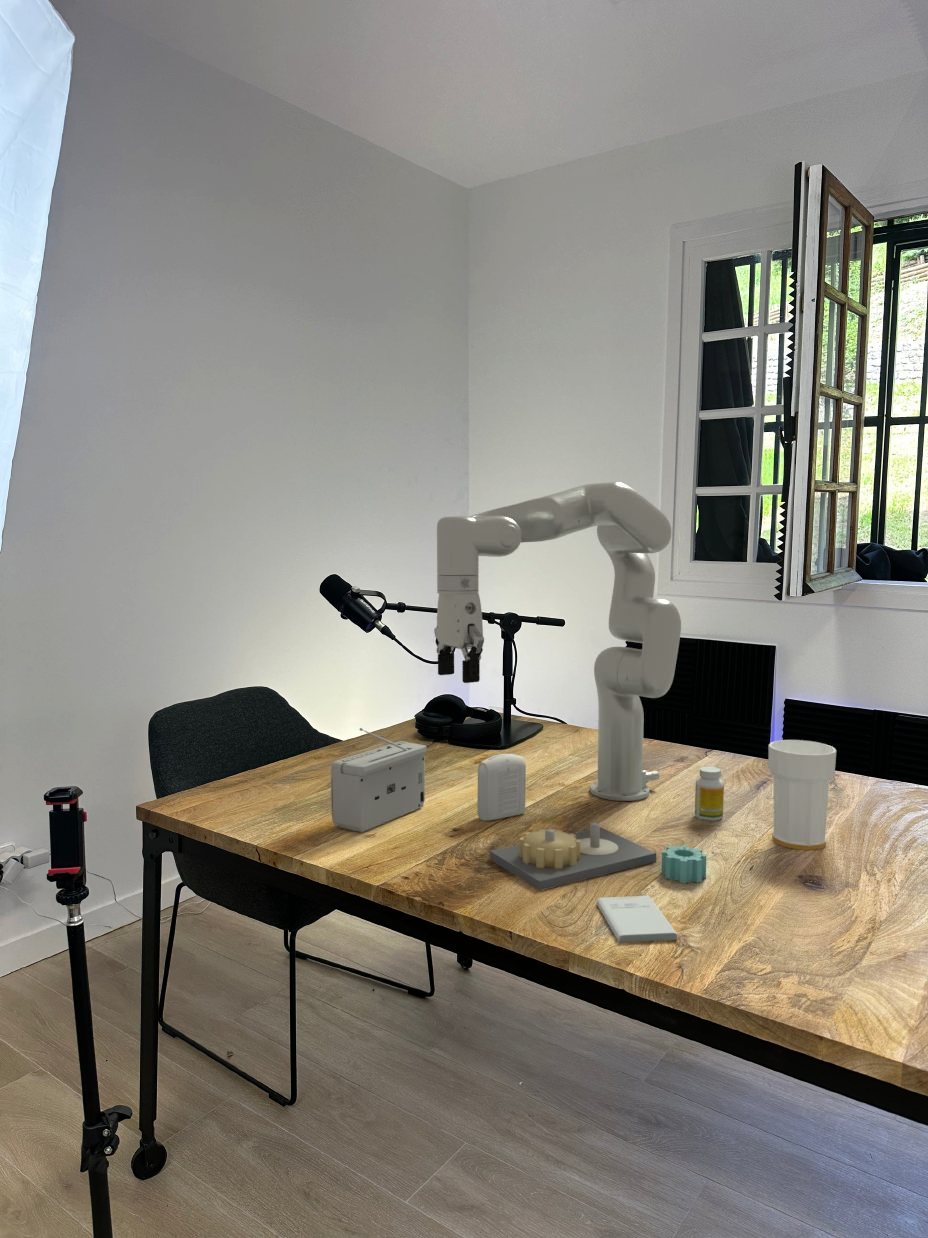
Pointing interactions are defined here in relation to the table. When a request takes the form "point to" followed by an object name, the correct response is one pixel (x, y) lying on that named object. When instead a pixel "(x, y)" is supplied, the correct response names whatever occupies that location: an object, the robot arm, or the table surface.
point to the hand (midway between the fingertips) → (458, 678)
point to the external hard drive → (636, 919)
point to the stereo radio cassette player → (377, 785)
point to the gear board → (569, 856)
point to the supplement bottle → (709, 794)
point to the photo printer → (501, 787)
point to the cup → (801, 792)
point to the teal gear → (683, 864)
